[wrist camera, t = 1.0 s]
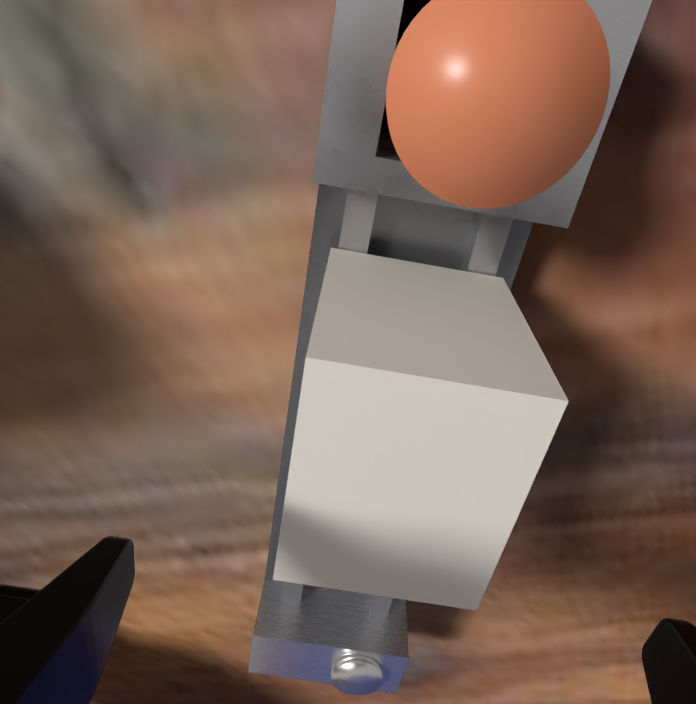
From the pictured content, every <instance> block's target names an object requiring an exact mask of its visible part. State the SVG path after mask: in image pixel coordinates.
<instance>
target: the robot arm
mask: <svg viewBox="0 0 696 704" xmlns="http://www.w3.org/2000/svg"><path fill="white" fill-rule="evenodd" d="M134 575H135V566H134V546H133V542H132V540H131V539H128V538H121V537H114V536H108V537H106V538H104V539H102V540H101V541H100V542H99V543H97V544H96V545H95V546H94V547H93V548H91V549H90V550H89V551H88V552H86V553H85V554H84V555H83V556H82V557H80V558H79V559H78V560H77V561H76V562H74V563H73V564H72V565H71V566H69V567H68V568H67V569H66V570H65V571H63V572H62V573H61V574H60V575H59V576H57V577H56V578H55V579H54V580H52V581H51V582H50V583H49V584H48V585H46V586H45V587H44V588H43V589H41V590H40V591H39V592H38V593H37V594H35V595H33V594H26V593H19V592H13V591H6V590H0V704H89V703H90V701H91V698H92V696H93V694H94V692H95V689H96V687H97V685H98V682H99V680H100V677H101V674H102V672H103V669H104V666H105V663H106V660H107V658H108V655H109V652H110V649H111V646H112V643H113V640H114V637H115V634H116V631H117V629H118V626H119V623H120V620H121V617H122V614H123V611H124V608H125V605H126V602H127V600H128V597H129V594H130V591H131V588H132V585H133V581H134ZM642 662H643V666H644V671H645V675H646V680H647V684H648V689H649V693H650V698H651V702H652V704H696V627H695V626H694V625H693V624H691V623H690V622H687V621H684V620H677V619H670V618H665V619H663V620H661V621H660V622H659V624H658V625H657V626H656V628H655V629H654V631H653V632H652V634H651V635H650V637H649V638H648V639H647V641H646V642H645V644H644V646H643V649H642Z"/></svg>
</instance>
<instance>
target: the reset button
mask: <svg viewBox="0 0 696 704" xmlns="http://www.w3.org/2000/svg"><path fill="white" fill-rule="evenodd" d="M609 88H610V58H609V52H608V47H607V42H606V38H605V35H604V33H603V30H602V27H601V25H600V23H599V21H598V19H597V17H596V15H595V13H594V11H593V10H592V9H591V7H590V6H589V5H588V3H587V2H586V0H431V1H430V2H429V3H428V4H427V5H425V6H424V7H423V8H422V9H421V11H420V12H419V13H418V14H417V15H416V16H415V18H414V19H413V20H412V21H411V23H410V24H409V26H408V27H407V29H406V30H405V32H404V33H403V35H402V37H401V39H400V41H399V43H398V45H397V47H396V50H395V53H394V55H393V58H392V61H391V64H390V68H389V73H388V77H387V85H386V112H387V120H388V127H389V131H390V135H391V139H392V142H393V144H394V147H395V149H396V152H397V154H398V156H399V158H400V159H401V161H402V163H403V165H404V166H405V168H406V169H407V170H408V172H409V173H410V174H411V176H412V177H413V178H414V179H415V180H416V181H417V182H418V183H419V184H420V185H421V186H423V187H424V188H425V189H426V190H428V191H429V192H430V193H432V194H434V195H435V196H437V197H439V198H441V199H442V200H445V201H447V202H450V203H452V204H455V205H459V206H463V207H468V208H477V209H493V208H500V207H506V206H510V205H514V204H517V203H520V202H523V201H525V200H528V199H530V198H533V197H534V196H536V195H538V194H540V193H542V192H544V191H545V190H547V189H548V188H550V187H551V186H552V185H554V184H555V183H557V182H558V181H559V180H560V179H561V178H562V177H563V176H565V175H566V174H567V173H568V172H569V171H570V170H571V169H572V168H573V166H574V165H575V164H576V163H577V162H578V161H579V160H580V158H581V157H582V155H583V154H584V153H585V151H586V150H587V148H588V147H589V145H590V143H591V142H592V140H593V138H594V136H595V134H596V132H597V130H598V128H599V125H600V123H601V121H602V118H603V114H604V111H605V108H606V105H607V99H608V94H609Z"/></svg>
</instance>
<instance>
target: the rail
mask: <svg viewBox="0 0 696 704" xmlns="http://www.w3.org/2000/svg"><path fill="white" fill-rule="evenodd" d="M586 2H587V3H588V5H589V6H590V7H591V9H592V10H593V11H594V13H595V15H596V17H597V19H598V21H599V23H600V25H601V27H602V30H603V33H604V35H605V38H606V42H607V47H608V52H609V58H610V88H609V94H608V99H607V105H606V108H605V111H604V114H603V118H602V121H601V123H600V125H599V128H598V130H597V132H596V134H595V136H594V138H593V140H592V142H591V143H590V145H589V147H588V148H587V150H586V151H585V153H584V154H583V155H582V157H581V158H580V160H579V161H578V162H577V163H576V164H575V165H574V166H573V168H572V169H571V170H570V171H569V172H568V173H567V174H566V175H565V176H563V177H562V178H561V179H560V180H559V181H558V182H557V183H555V184H554V185H552V186H551V187H550V188H548V189H547V190H545V191H544V192H542V193H540V194H538V195H536V196H534V197H533V198H530V199H528V200H525V201H523V202H520V203H517V204H514V205H510V206H506V207H500V208H493V209H477V208H468V207H463V206H459V205H455V204H452V203H450V202H447V201H445V200H442V199H441V198H439V197H437V196H435V195H434V194H432V193H430V192H429V191H428V190H426V189H425V188H424V187H423V186H421V185H420V184H419V183H418V182H417V181H416V180H415V179H414V178H413V177H412V176H411V174H410V173H409V172H408V170H407V169H406V168H405V166H404V165H403V163H402V161H401V159H400V158H399V156H398V154H397V152H396V149H395V147H394V144H393V142H392V139H391V135H390V134H387V133H382V132H380V129H381V123H382V118H383V112H384V107H385V101H386V85H387V77H388V73H389V68H390V64H391V61H392V58H393V55H394V52H395V47H396V41H397V36H398V30H399V25H400V19H401V14H402V8H403V3H404V0H337V3H336V10H335V18H334V26H333V33H332V41H331V48H330V56H329V63H328V71H327V79H326V86H325V94H324V101H323V109H322V117H321V124H320V132H319V139H318V147H317V154H316V162H315V170H314V177H313V183H318V184H319V190H318V197H317V205H316V212H315V219H314V226H313V234H312V241H311V248H310V255H309V263H308V270H307V277H306V284H305V292H304V299H303V306H302V313H301V321H300V328H299V335H298V342H297V350H296V357H295V364H294V371H293V379H292V386H291V393H290V400H289V408H288V415H287V422H286V429H285V437H284V444H283V451H282V458H281V466H280V473H279V480H278V487H277V495H276V502H275V509H274V517H273V524H272V531H271V538H270V546H269V553H268V560H267V567H266V575H265V581H264V586H263V590H262V595H261V600H260V605H259V609H258V614H257V619H256V624H255V628H254V633H253V639H252V647H251V655H250V662H249V670H248V672H253V673H260V674H266V675H273V676H280V677H287V678H294V679H301V680H308V681H315V682H322V683H329V684H333V685H334V686H335V687H336V688H337V689H339V690H340V691H342V692H345V693H348V694H355V695H363V694H369V693H372V692H374V691H376V690H377V691H384V692H391V693H396V691H397V689H398V686H399V683H400V681H401V678H402V675H403V673H404V670H405V667H406V664H407V662H408V659H409V652H408V632H407V612H406V600H403V599H396V598H390V597H383V596H377V595H370V594H363V593H357V592H350V591H344V590H337V589H330V588H324V587H317V586H310V585H304V584H297V583H291V582H284V581H277V580H273V574H274V568H275V561H276V554H277V547H278V541H279V534H280V527H281V520H282V514H283V507H284V500H285V494H286V487H287V480H288V473H289V467H290V460H291V453H292V446H293V440H294V433H295V426H296V419H297V413H298V406H299V399H300V393H301V386H302V379H303V372H304V366H305V359H306V354H307V350H308V345H309V341H310V336H311V332H312V328H313V323H314V319H315V315H316V310H317V306H318V302H319V297H320V293H321V289H322V284H323V280H324V275H325V271H326V267H327V262H328V258H329V254H330V249H331V248H336V249H342V250H347V251H353V252H359V253H364V254H370V255H376V256H381V257H387V258H393V259H399V260H404V261H410V262H416V263H421V264H427V265H433V266H438V267H444V268H450V269H455V270H461V271H467V272H473V273H478V274H484V275H490V276H495V277H501V278H504V280H505V282H506V284H507V286H508V288H509V290H511V287H512V284H513V281H514V278H515V275H516V272H517V269H518V266H519V263H520V260H521V257H522V254H523V252H524V249H525V246H526V243H527V240H528V237H529V234H530V231H531V228H532V225H533V222H535V223H540V224H546V225H551V226H557V227H563V228H568V227H569V224H570V221H571V218H572V216H573V213H574V210H575V208H576V205H577V202H578V200H579V197H580V194H581V191H582V189H583V186H584V183H585V181H586V178H587V175H588V173H589V170H590V167H591V164H592V162H593V159H594V156H595V154H596V151H597V148H598V145H599V143H600V140H601V137H602V135H603V132H604V129H605V127H606V124H607V121H608V118H609V116H610V113H611V110H612V108H613V105H614V102H615V100H616V97H617V94H618V91H619V89H620V86H621V83H622V81H623V78H624V75H625V73H626V70H627V67H628V64H629V62H630V59H631V56H632V54H633V51H634V48H635V45H636V43H637V40H638V37H639V35H640V32H641V29H642V27H643V24H644V21H645V18H646V16H647V13H648V10H649V8H650V5H651V2H652V0H586Z"/></svg>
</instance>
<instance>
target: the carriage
mask: <svg viewBox="0 0 696 704" xmlns="http://www.w3.org/2000/svg"><path fill="white" fill-rule="evenodd" d="M568 402H569V401H568V399H567V397H566V395H565V393H564V391H563V389H562V388H561V386H560V384H559V382H558V380H557V378H556V376H555V374H554V373H553V371H552V369H551V367H550V365H549V363H548V361H547V359H546V357H545V356H544V354H543V352H542V350H541V348H540V346H539V344H538V342H537V341H536V339H535V337H534V335H533V333H532V331H531V329H530V327H529V325H528V324H527V322H526V320H525V318H524V316H523V314H522V312H521V310H520V309H519V307H518V305H517V303H516V301H515V299H514V297H513V295H512V293H511V292H510V290H509V288H508V286H507V284H506V282H505V280H504V278H501V277H495V276H490V275H484V274H478V273H473V272H467V271H461V270H455V269H450V268H444V267H438V266H433V265H427V264H421V263H416V262H410V261H404V260H399V259H393V258H387V257H381V256H376V255H370V254H364V253H359V252H353V251H347V250H342V249H336V248H331V249H330V254H329V258H328V262H327V267H326V271H325V275H324V280H323V284H322V289H321V293H320V297H319V302H318V306H317V310H316V315H315V319H314V323H313V328H312V332H311V336H310V341H309V345H308V350H307V354H306V359H305V366H304V372H303V379H302V386H301V393H300V399H299V406H298V413H297V419H296V426H295V433H294V440H293V446H292V453H291V460H290V467H289V473H288V480H287V487H286V494H285V500H284V507H283V514H282V520H281V527H280V534H279V541H278V547H277V554H276V561H275V568H274V574H273V580H277V581H284V582H291V583H297V584H304V585H310V586H317V587H324V588H330V589H337V590H344V591H350V592H357V593H363V594H370V595H377V596H383V597H390V598H396V599H403V600H410V601H416V602H423V603H430V604H436V605H443V606H449V607H456V608H463V609H469V610H476V611H477V609H478V606H479V604H480V602H481V599H482V597H483V595H484V593H485V590H486V588H487V586H488V584H489V581H490V579H491V577H492V574H493V572H494V570H495V568H496V565H497V563H498V561H499V559H500V556H501V554H502V552H503V549H504V547H505V545H506V543H507V540H508V538H509V536H510V534H511V531H512V529H513V527H514V524H515V522H516V520H517V518H518V515H519V513H520V511H521V509H522V506H523V504H524V502H525V499H526V497H527V495H528V493H529V490H530V488H531V486H532V484H533V481H534V479H535V477H536V474H537V472H538V470H539V468H540V465H541V463H542V461H543V459H544V456H545V454H546V452H547V450H548V447H549V445H550V443H551V440H552V438H553V436H554V434H555V431H556V429H557V427H558V425H559V422H560V420H561V418H562V415H563V413H564V411H565V409H566V406H567V404H568Z"/></svg>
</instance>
